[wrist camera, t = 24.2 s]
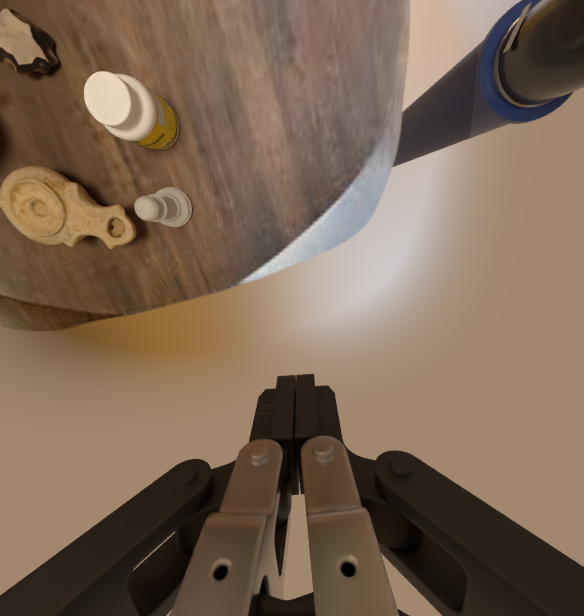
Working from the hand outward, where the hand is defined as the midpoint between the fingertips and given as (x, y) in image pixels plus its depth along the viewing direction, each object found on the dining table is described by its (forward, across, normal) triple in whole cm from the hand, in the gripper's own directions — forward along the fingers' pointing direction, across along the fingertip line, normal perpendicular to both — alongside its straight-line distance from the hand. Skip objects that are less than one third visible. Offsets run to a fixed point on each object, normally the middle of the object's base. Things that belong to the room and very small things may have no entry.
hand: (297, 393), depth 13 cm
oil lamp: (+29, +26, -9) cm, 40 cm away
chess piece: (+29, +15, -8) cm, 34 cm away
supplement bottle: (+29, +15, -17) cm, 37 cm away
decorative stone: (+29, +28, -25) cm, 48 cm away
